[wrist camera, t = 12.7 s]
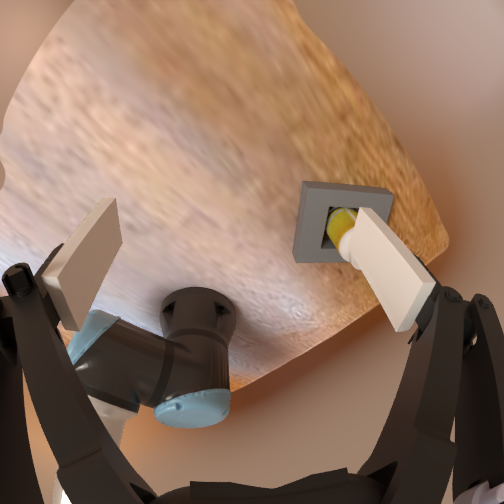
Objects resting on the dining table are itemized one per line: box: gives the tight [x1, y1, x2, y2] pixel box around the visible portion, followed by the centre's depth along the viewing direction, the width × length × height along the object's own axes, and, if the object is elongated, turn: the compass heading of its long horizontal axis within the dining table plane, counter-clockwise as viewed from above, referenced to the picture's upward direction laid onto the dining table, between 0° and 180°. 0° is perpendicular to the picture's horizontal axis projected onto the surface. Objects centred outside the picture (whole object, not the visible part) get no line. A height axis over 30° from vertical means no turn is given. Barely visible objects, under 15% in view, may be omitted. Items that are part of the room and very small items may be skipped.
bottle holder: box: [292, 181, 394, 263], centre depth 44 cm, size 13×15×3 cm
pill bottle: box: [325, 207, 361, 270], centre depth 41 cm, size 6×6×11 cm
